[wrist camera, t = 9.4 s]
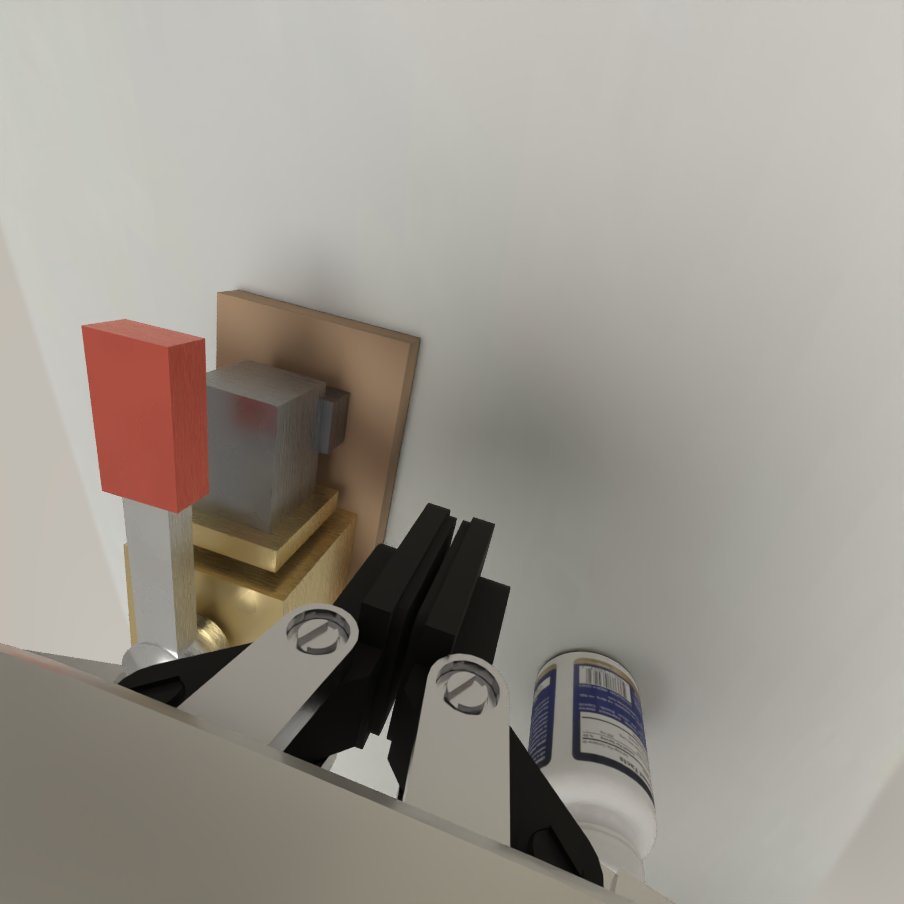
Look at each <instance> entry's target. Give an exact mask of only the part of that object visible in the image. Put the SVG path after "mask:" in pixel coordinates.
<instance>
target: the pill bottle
mask: <svg viewBox="0 0 904 904" xmlns="http://www.w3.org/2000/svg"><path fill="white" fill-rule="evenodd" d="M528 753H529V754H530V756H531V757H532V759H533V760H534V761H535V763H536V764H537V766H538V767H539V769H540V770H541V772H542V773H543V774H544V776H545V777H546V779H547V780H548V782H549V783H550V785H551V786H552V787H553V789H554V790H555V792H556V793H557V795H558V796H559V798H560V799H561V800H562V802H563V803H564V805H565V806H566V808H567V809H568V810H569V812H570V813H571V815H572V816H573V818H574V819H575V821H576V822H577V823H578V825H579V826H580V828H581V829H582V831H583V832H584V834H585V835H586V836H587V838H588V839H589V841H590V843H591V845H592V847H593V848H594V850H595V852H596V854H597V856H598V858H599V862H600V863H601V864H603V865H604V866H606V867H607V868H609V869H610V870H612V871H613V872H615V873H616V872H617V871H618V869H619V867H621V868H622V869H624V870H625V871H627V872H628V873H630V874H631V875H633V876H634V877H636V878H637V879H639V880H640V881H642V882H643V883H645V875H644V869H643V862H642V859H643V858H644V857H645V856H646V855H647V854H648V853H649V852H650V850H651V848H652V847H653V844H654V841H655V838H656V832H657V823H656V813H655V806H654V799H653V792H652V784H651V776H650V769H649V762H648V755H647V748H646V740H645V733H644V725H643V718H642V710H641V702H640V696H639V692H638V688H637V686H636V683H635V681H634V680H633V678H632V677H631V675H630V674H629V673H628V672H627V670H625V669H624V668H623V667H622V666H621V665H620V664H618V663H617V662H615V661H613V660H611V659H609V658H607V657H605V656H602V655H600V654H596V653H591V652H571V653H566V654H562V655H560V656H557V657H555V658H554V659H552V660H550V661H549V662H548V663H546V664H545V665H544V666H543V668H542V669H541V670H540V672H539V674H538V676H537V679H536V683H535V689H534V697H533V707H532V716H531V728H530V737H529V748H528Z"/></svg>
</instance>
